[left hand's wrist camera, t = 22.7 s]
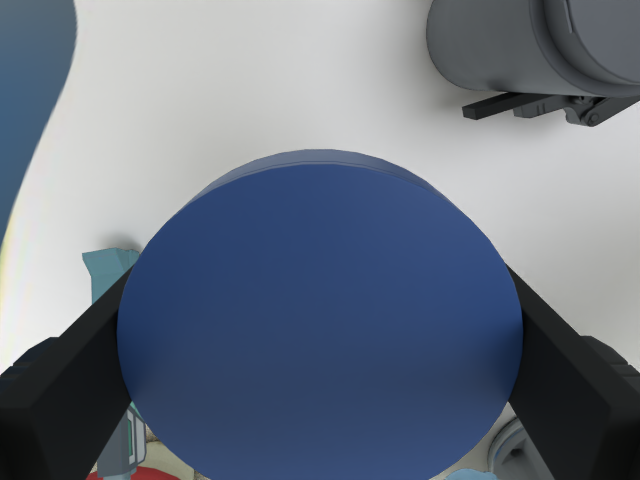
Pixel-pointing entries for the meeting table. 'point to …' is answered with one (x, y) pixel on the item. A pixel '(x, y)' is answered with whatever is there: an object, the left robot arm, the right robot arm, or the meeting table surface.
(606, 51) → the jar
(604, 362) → the left robot arm
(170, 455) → the mushroom
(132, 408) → the toy gun
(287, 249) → the lid
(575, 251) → the meeting table surface
